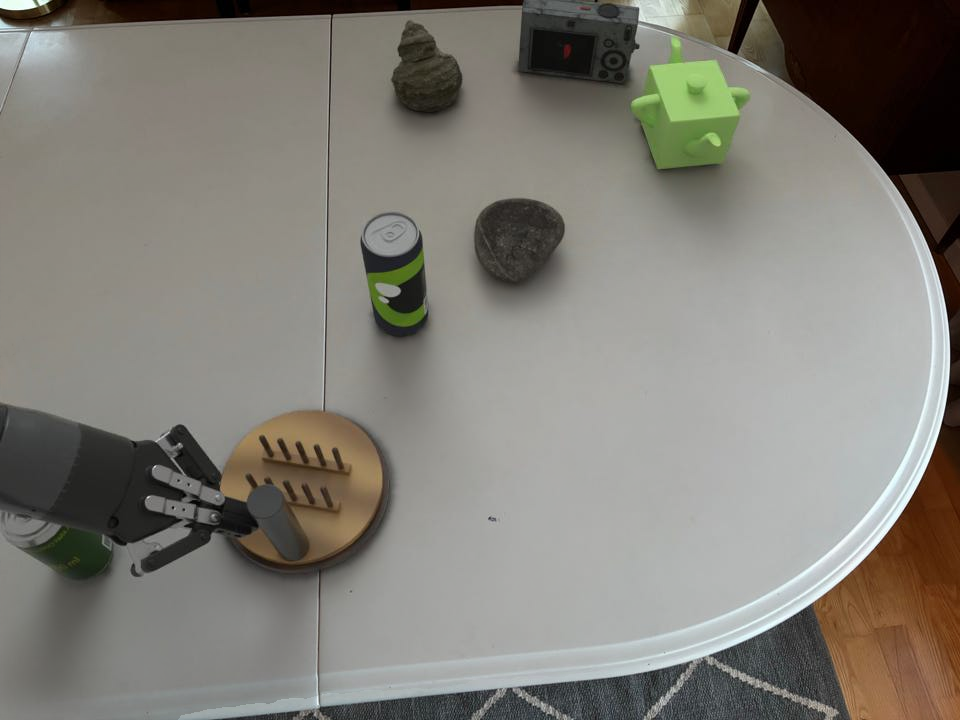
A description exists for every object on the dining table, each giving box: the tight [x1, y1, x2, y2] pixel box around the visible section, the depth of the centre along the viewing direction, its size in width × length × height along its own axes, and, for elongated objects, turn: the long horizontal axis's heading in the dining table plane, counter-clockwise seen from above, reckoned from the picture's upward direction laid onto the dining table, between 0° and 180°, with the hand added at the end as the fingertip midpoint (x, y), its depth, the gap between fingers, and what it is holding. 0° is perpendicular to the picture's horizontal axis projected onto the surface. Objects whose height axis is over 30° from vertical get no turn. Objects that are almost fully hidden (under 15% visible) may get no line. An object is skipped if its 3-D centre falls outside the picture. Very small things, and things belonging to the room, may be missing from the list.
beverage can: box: [359, 210, 429, 337], centre depth 85 cm, size 6×6×15 cm
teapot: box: [630, 35, 751, 170], centre depth 101 cm, size 15×13×11 cm
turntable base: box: [219, 413, 390, 575], centre depth 80 cm, size 17×17×1 cm
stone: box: [473, 197, 566, 283], centre depth 94 cm, size 11×11×5 cm
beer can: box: [0, 511, 114, 581], centre depth 72 cm, size 5×5×12 cm
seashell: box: [390, 19, 463, 114], centre depth 106 cm, size 11×12×10 cm
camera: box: [517, 0, 641, 84], centre depth 109 cm, size 16×4×10 cm, turn 81°
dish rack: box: [220, 409, 383, 565], centre depth 74 cm, size 16×16×13 cm
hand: (254, 523), depth 69 cm, fingers closed
